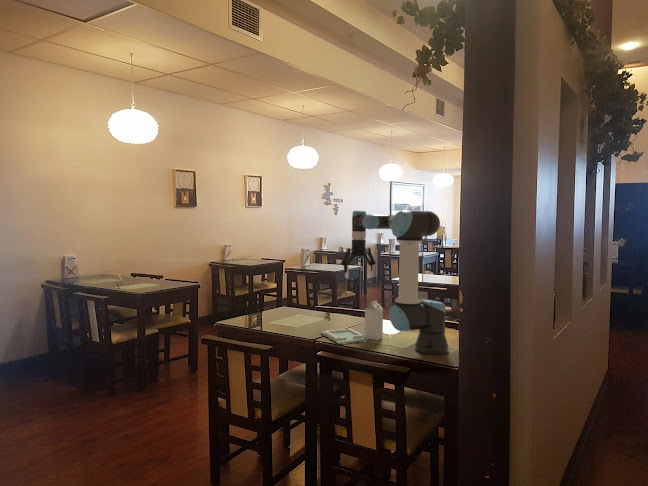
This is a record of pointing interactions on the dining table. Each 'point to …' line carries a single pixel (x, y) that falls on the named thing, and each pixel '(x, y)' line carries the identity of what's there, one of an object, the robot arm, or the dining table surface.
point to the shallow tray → (344, 336)
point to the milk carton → (374, 321)
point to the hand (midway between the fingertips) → (358, 277)
